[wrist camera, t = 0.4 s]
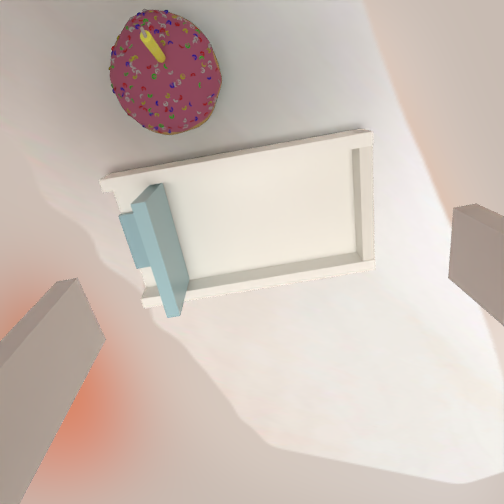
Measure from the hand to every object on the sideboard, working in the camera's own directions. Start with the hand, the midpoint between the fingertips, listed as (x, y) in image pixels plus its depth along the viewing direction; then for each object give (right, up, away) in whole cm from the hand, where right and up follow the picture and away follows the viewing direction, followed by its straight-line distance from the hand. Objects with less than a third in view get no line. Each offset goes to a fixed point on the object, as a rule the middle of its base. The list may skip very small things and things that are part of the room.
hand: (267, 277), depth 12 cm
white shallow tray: (-1, +5, +24) cm, 25 cm away
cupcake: (-7, +17, +19) cm, 26 cm away
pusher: (-11, +2, +24) cm, 26 cm away
